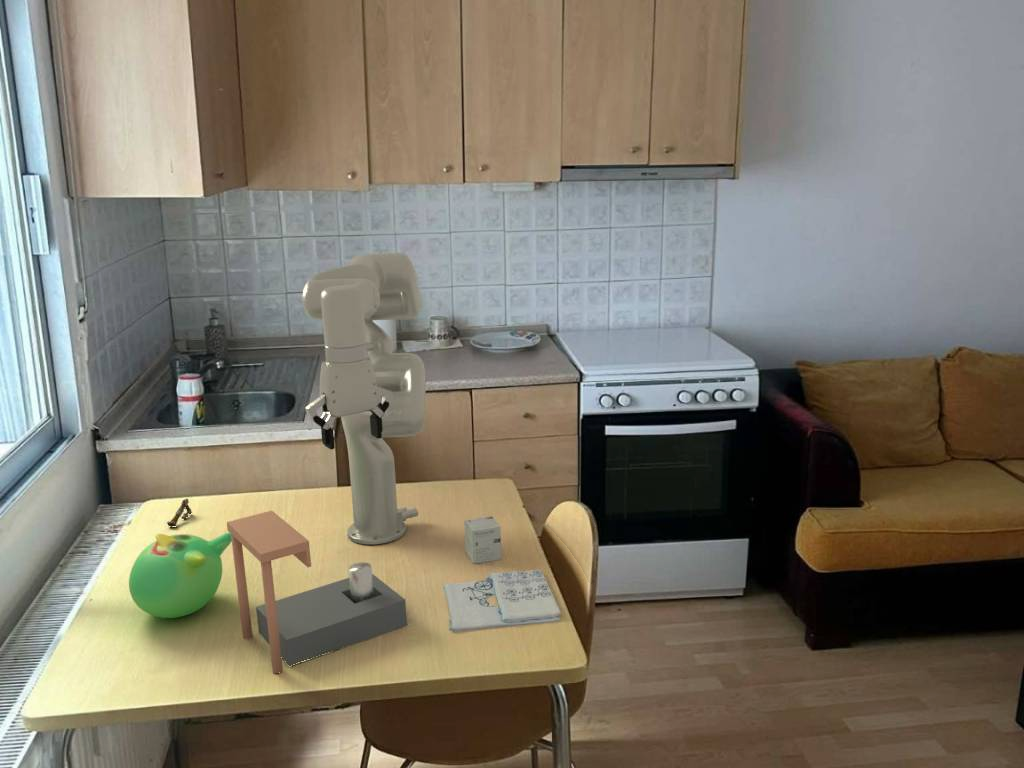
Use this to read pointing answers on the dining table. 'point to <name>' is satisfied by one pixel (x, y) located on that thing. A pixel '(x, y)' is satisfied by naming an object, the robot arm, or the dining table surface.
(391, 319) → the robot arm
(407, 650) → the dining table surface
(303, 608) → the socket plate
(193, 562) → the toy bird
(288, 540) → the canopy
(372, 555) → the dining table surface
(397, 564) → the dining table surface
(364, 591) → the metal peg
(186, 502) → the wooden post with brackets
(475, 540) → the skincare box
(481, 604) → the folded cloth
